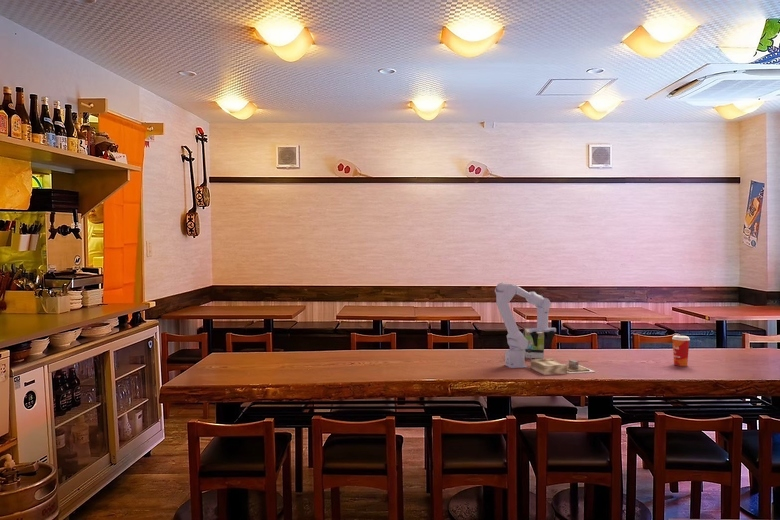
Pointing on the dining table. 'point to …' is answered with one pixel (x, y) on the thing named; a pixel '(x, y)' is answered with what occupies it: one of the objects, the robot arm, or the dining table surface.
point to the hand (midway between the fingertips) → (542, 345)
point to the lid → (575, 367)
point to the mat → (582, 371)
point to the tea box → (533, 350)
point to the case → (548, 366)
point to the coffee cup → (680, 350)
